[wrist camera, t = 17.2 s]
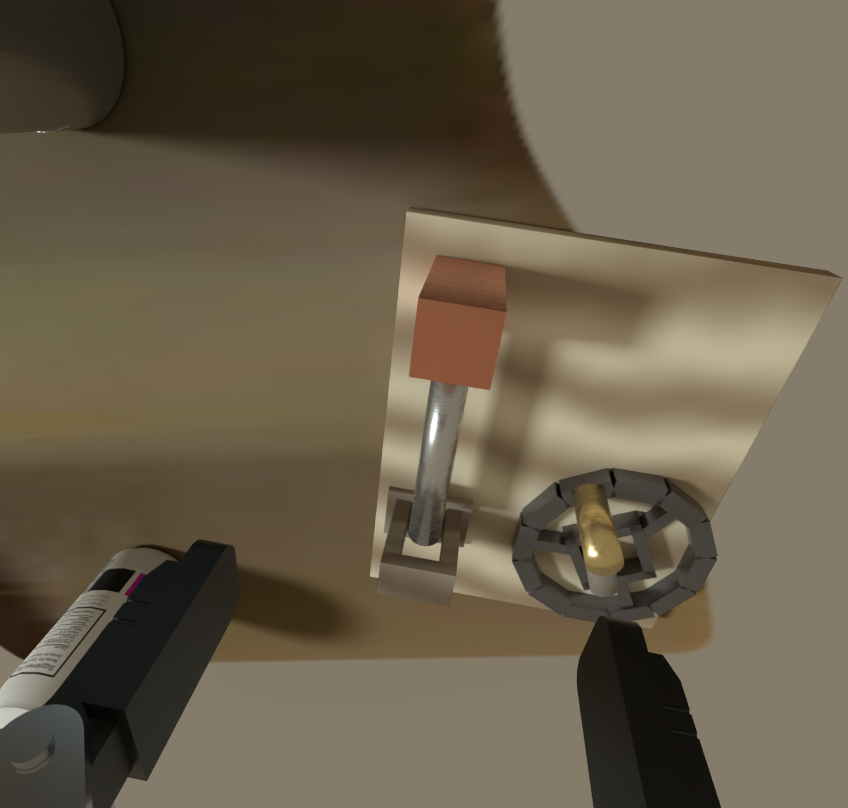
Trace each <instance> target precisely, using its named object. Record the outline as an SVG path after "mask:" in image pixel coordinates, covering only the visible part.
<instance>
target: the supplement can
mask: <svg viewBox="0 0 848 808" xmlns="http://www.w3.org/2000/svg"><path fill="white" fill-rule="evenodd" d="M166 560H172V561H177V560H176V559H175V558H173V557H172V556H170V555H168V554H166V553H164V552H162V551H159V550H156V549H151V548H134V549H125V550H123V551H121V552H119V553H117V554H116V555H115V556H114V557H113V558H112V559H111V560H110V562H109V563H108V564H107V565H106V566H105V567H104V569H103V570H102V571H101V572H100V573H99V574H98V576H97V577H96V578H95V579H94V580H93V581H92V583H91V584H90V585H89V586H88V587H87V588H86V590H85V591H84V592H83V593H82V594H81V595H80V597H79V598H78V599H77V600H76V601H75V602H74V603H73V605H72V606H71V607H70V608H69V609H68V610H67V612H66V613H65V614H64V615H63V616H62V617H61V619H60V620H59V621H58V622H57V623H56V624H55V626H54V627H53V628H52V629H51V630H50V631H49V633H48V634H47V635H46V636H45V637H44V638H43V639H42V641H41V642H40V643H39V644H38V645H37V646H36V648H35V649H34V650H33V651H32V652H31V653H30V655H29V656H28V657H27V658H26V659H25V660H24V662H23V663H22V664H21V665H20V666H19V667H18V669H17V670H16V671H15V672H14V673H13V674H12V676H11V677H10V678H9V679H8V680H7V681H6V682H5V684H4V685H3V686H2V688H1V689H0V729H2V728H3V727H5V726H6V725H7V724H8V723H9V722H11V721H12V720H14V719H15V718H17V717H18V716H20V715H22V714H24V713H25V712H28V711H30V710H32V709H35V708H38V707H41V706H42V705H44V704H45V703H46V702H47V701H48V700H49V699H50V698H51V697H52V696H53V695H54V693H55V692H56V691H57V690H58V689H59V687H60V686H61V685H62V683H63V682H64V681H65V679H66V678H67V677H68V675H69V674H70V673H71V671H72V670H73V669H74V668H75V666H76V665H77V664H78V662H79V661H80V660H81V658H82V657H83V656H84V654H85V653H86V652H87V650H88V649H89V648H90V646H91V645H92V644H93V643H94V641H95V640H96V639H97V637H98V636H99V635H100V633H101V632H102V631H103V629H104V628H105V627H106V625H107V624H108V623H109V622H111V621H112V620H113V616H114V615H115V614H116V612H117V611H118V610H119V608H120V607H121V606H122V604H123V603H126V601H127V598H128V597H129V595H130V594H131V593H132V591H133V590H134V589H135V587H136V586H137V585H138V583H139V582H140V581H141V579H142V578H143V577H144V576H145V575H147V574H148V573H149V572H151V571H152V570H154V569H155V568H156V567H158V566H159V565H160V564H162V563H163V562H165V561H166ZM177 562H179V561H177Z"/></svg>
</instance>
